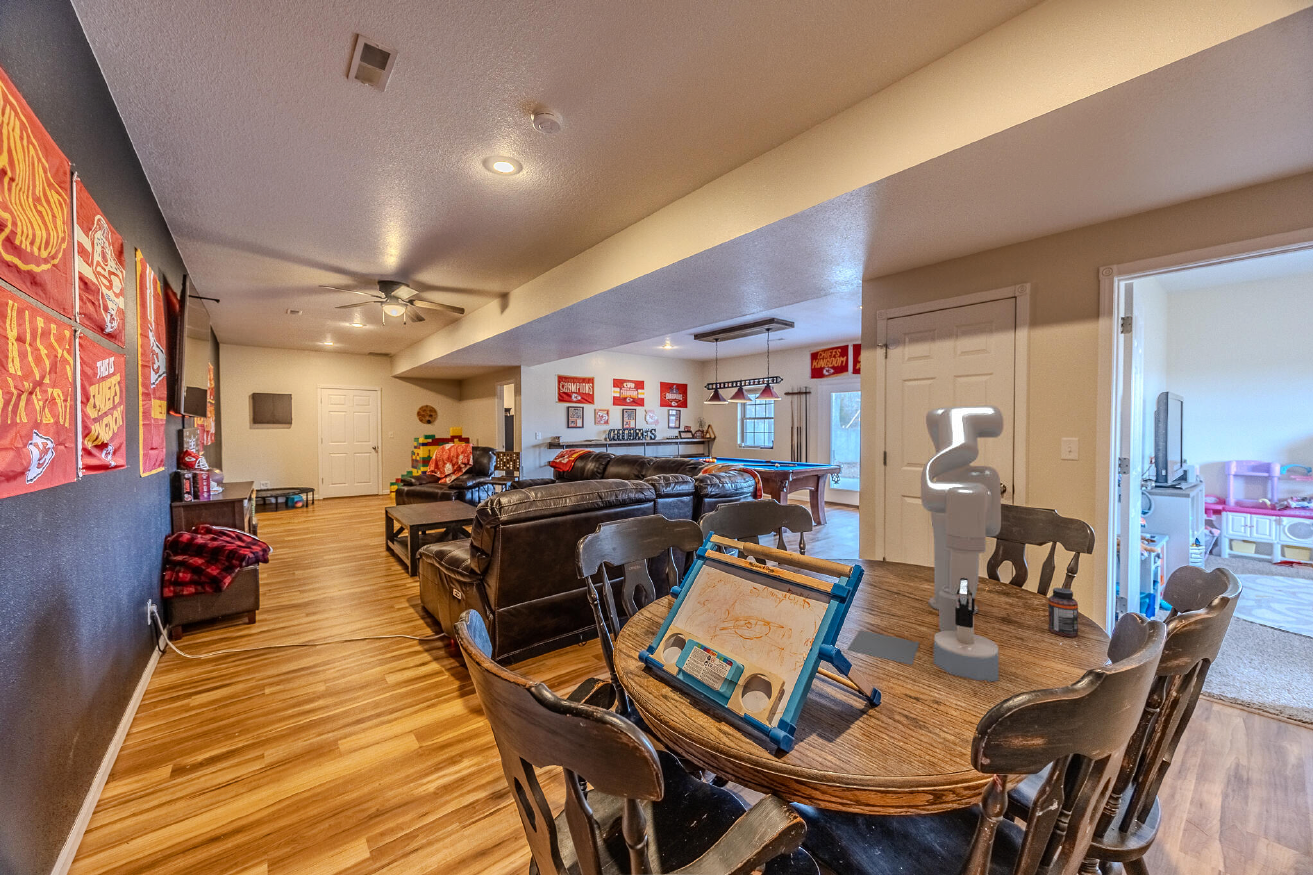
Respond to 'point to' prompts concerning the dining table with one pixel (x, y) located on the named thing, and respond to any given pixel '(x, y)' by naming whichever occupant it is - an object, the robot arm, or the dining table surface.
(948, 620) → the can
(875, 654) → the plate
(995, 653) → the lid
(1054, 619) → the supplement bottle
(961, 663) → the bowl
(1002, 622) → the dining table surface
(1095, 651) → the dining table surface
